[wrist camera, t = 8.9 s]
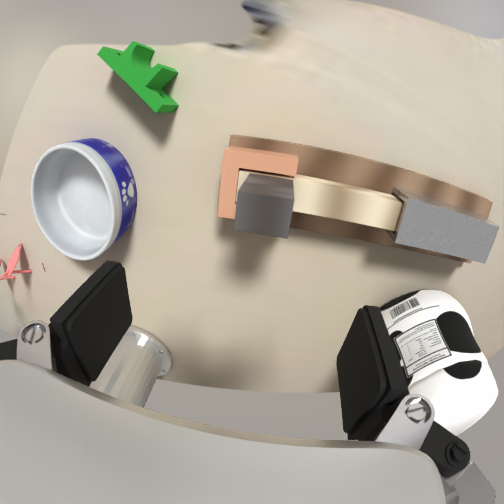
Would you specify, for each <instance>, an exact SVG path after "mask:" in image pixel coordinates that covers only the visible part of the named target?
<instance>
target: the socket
mask: <svg viewBox="0 0 504 504" xmlns="http://www.w3.org/2000/svg"><path fill="white" fill-rule="evenodd" d="M297 166H298V156H297V155H291V154H285V153H279V152H272V151H265V150H258V149H251V148H243V147H234V146H229V147H227V148H225V149H224V152H223V162H222V173H221V183H220V195H219V207H218V217H223V218H229V219H235V212H236V203H237V202H236V195H237V186H238V177H239V171H240V170H241V169H242V168H244V169H251V170H258V171H265V172H272V173H278V174H284V175H290V176H296V172H297Z"/></svg>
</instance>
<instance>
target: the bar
mask: <svg viewBox="0 0 504 504" xmlns="http://www.w3.org/2000/svg"><path fill="white" fill-rule="evenodd" d="M236 202H237V203H236V212H235V222H234V230H238V231H244V232H250V233H256V234H263V235H269V236H275V237H281V238H288V233H289V227H290V222H291V217H292V211H295V212H301V213H306V214H312V215H317V216H323V217H328V218H333V219H339V220H344V221H349V222H354V223H359V224H364V225H368V226H373V227H378V228H382V229H387V230H392V231H396V229H397V226H398V223H399V220H400V216H401V213H402V210H403V206H404V203H405V202H404V201H403V200H402V199H401V198H400V197H398V196H394V195H390V194H386V193H382V192H378V191H374V190H370V189H366V188H362V187H357V186H353V185H348V184H344V183H339V182H334V181H329V180H324V179H319V178H314V177H309V176H303V175H298V174H296V176H290V175H284V174H278V173H272V172H265V171H258V170H251V169H244V168H242V169H241V170H240V171H239V177H238V186H237V195H236Z"/></svg>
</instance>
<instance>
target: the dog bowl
mask: <svg viewBox="0 0 504 504" xmlns="http://www.w3.org/2000/svg"><path fill="white" fill-rule="evenodd" d="M31 203H32V208H33V212H34V215H35V218H36V221H37V223H38V225H39V227H40V229H41V231H42V233H43V234H44V236H45V237H46V239H47V240H48V241H49V242H50V243H51V245H52V246H53V247H54V248H56V249H57V250H58V251H59V252H61V253H62V254H64V255H65V256H67V257H69V258H72V259H75V260H81V261H86V260H91V259H94V258H97V257H98V256H100V255H101V254H102V253H103V252H105V251H106V250H107V249H108V248H109V247H110V246H111V245H112V244H113V243H115V242H116V241H117V240H118V239H119V238H120V237H121V236H122V235H123V234H124V233H125V232H126V230H127V229H128V228H129V226H130V225H131V223H132V221H133V218H134V215H135V212H136V206H137V190H136V184H135V179H134V176H133V173H132V170H131V168H130V166H129V164H128V162H127V161H126V159H125V158H124V156H123V155H122V154H121V153H120V152H119V151H118V150H117V149H116V148H115V147H114V146H112V145H111V144H109V143H107V142H105V141H103V140H100V139H93V138H89V139H82V140H77V141H72V142H67V143H63V144H59V145H56V146H54V147H52V148H50V149H48V150H47V151H46V152H45V153H44V154H43V155H42V156H41V157H40V159H39V160H38V162H37V164H36V166H35V168H34V171H33V175H32V180H31Z"/></svg>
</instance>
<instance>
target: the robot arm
mask: <svg viewBox="0 0 504 504" xmlns="http://www.w3.org/2000/svg"><path fill="white" fill-rule="evenodd" d="M50 321H51V323H50V324H49V325H47V323H45V322H43V321H40V320H36V321H31V322H28V323H27V324H25V325H24V326H23V327H22V328H21V329H20V331H19V333H18V339H15V340H11V341H7V342H3V343H0V504H494V503H495V498H496V495H495V490H494V488H493V487H492V486H491V484H490V483H489V481H488V480H487V479H486V478H485V476H484V475H483V474H482V472H481V471H480V470H479V468H478V467H477V466H476V464H475V463H474V462H473V463H471V464H470V462H469V460H470V451H469V448H468V446H467V444H466V443H465V442H463V441H462V440H461V439H459V438H458V437H457V436H455V435H454V434H452V433H451V432H450V431H448V430H447V429H445V428H444V427H443V426H441V425H440V424H438V423H437V422H436V421H434V417H435V409H434V407H433V404H432V403H431V402H430V400H429V399H427V398H426V397H425V396H422V395H420V394H410V393H409V390H408V386H407V383H406V380H405V376H404V373H403V370H402V367H401V364H400V361H399V358H398V355H397V352H396V349H395V346H394V344H393V342H392V341H391V338H390V335H389V332H388V330H387V327H386V324H385V321H384V319H383V316H382V313H381V311H380V308H379V307H376V306H368V305H365V306H364V307H363V308H360V309H359V310H358V311H357V314H356V316H355V318H354V321H353V323H352V325H351V328H350V330H349V332H348V334H347V337H346V339H345V341H344V343H343V345H342V347H341V349H340V352H339V354H338V356H337V371H338V379H339V388H340V398H341V408H342V419H343V429H344V432H345V433H348V440H358V441H339V440H337V441H336V440H314V439H299V438H286V437H277V436H268V435H261V434H254V433H246V432H241V431H235V430H230V429H224V428H219V427H214V426H209V425H205V424H200V423H196V422H192V421H187V420H184V419H180V418H176V417H173V416H169V415H166V414H162V413H159V412H155V411H152V410H149V409H146V408H144V406H145V403H146V401H147V399H148V396H149V394H150V392H151V390H152V387H153V385H154V383H155V381H156V379H157V376H163V375H165V374H167V373H168V372H169V371H170V368H171V366H172V358H171V355H170V353H169V351H168V350H167V348H166V347H165V346H164V345H163V344H162V343H161V342H160V341H159V340H158V339H157V338H155V337H154V336H153V335H151V334H149V333H148V332H146V331H144V330H141V329H139V328H136V327H131V326H130V325H131V323H132V313H131V307H130V301H129V295H128V288H127V281H126V274H125V269H124V267H122V265H121V263H118V262H114V261H109V260H108V261H106V262H105V263H104V264H103V265H102V266H101V267H100V268H99V269H98V270H97V271H96V272H94V273H93V274H92V275H91V276H90V277H89V278H88V279H87V280H86V281H85V282H84V283H83V284H82V285H81V286H80V287H79V288H78V289H77V290H76V291H75V293H74V294H73V295H72V296H71V297H70V298H69V299H68V300H67V301H66V302H65V303H64V304H63V305H62V306H61V307H60V308H59V309H58V310H57V312H56V313H55V314H54V315H53V316H52V317H51V318H50ZM78 382H79V383H78ZM85 385H86V386H85Z"/></svg>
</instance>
